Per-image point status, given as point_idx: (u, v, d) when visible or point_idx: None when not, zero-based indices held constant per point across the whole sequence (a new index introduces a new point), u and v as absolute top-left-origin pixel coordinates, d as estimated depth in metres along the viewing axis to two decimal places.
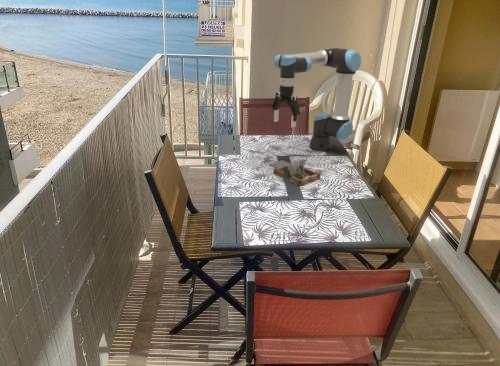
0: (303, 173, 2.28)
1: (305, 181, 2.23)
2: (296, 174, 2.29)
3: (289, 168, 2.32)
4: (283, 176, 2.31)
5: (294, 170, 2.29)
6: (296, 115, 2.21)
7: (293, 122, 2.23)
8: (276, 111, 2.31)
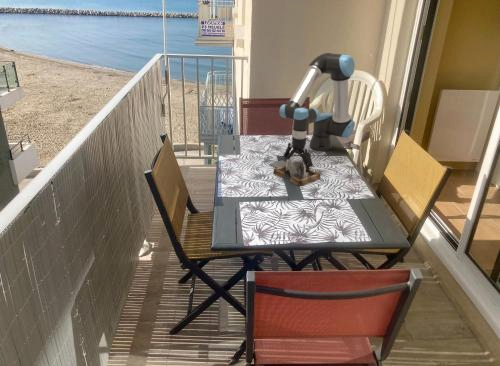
0: (303, 173, 2.28)
1: (305, 181, 2.23)
2: (296, 174, 2.29)
3: (289, 168, 2.32)
4: (283, 176, 2.31)
5: (294, 170, 2.29)
6: (309, 167, 2.24)
7: (305, 173, 2.26)
8: (288, 160, 2.34)
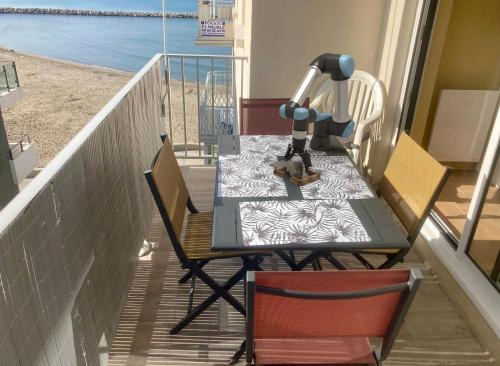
0: (302, 173, 2.28)
1: (305, 181, 2.23)
2: (295, 174, 2.29)
3: (288, 168, 2.33)
4: (283, 176, 2.31)
5: (293, 170, 2.29)
6: None
7: (305, 174, 2.27)
8: (289, 162, 2.34)
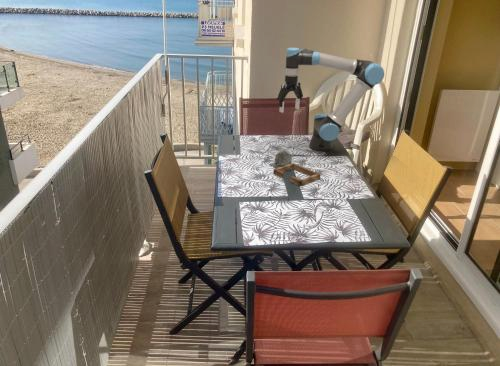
0: (276, 160, 2.44)
1: (305, 181, 2.23)
2: None
3: None
4: (283, 176, 2.31)
5: None
6: (280, 101, 2.46)
7: (280, 107, 2.49)
8: (296, 99, 2.56)
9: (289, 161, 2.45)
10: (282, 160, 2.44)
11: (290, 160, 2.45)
